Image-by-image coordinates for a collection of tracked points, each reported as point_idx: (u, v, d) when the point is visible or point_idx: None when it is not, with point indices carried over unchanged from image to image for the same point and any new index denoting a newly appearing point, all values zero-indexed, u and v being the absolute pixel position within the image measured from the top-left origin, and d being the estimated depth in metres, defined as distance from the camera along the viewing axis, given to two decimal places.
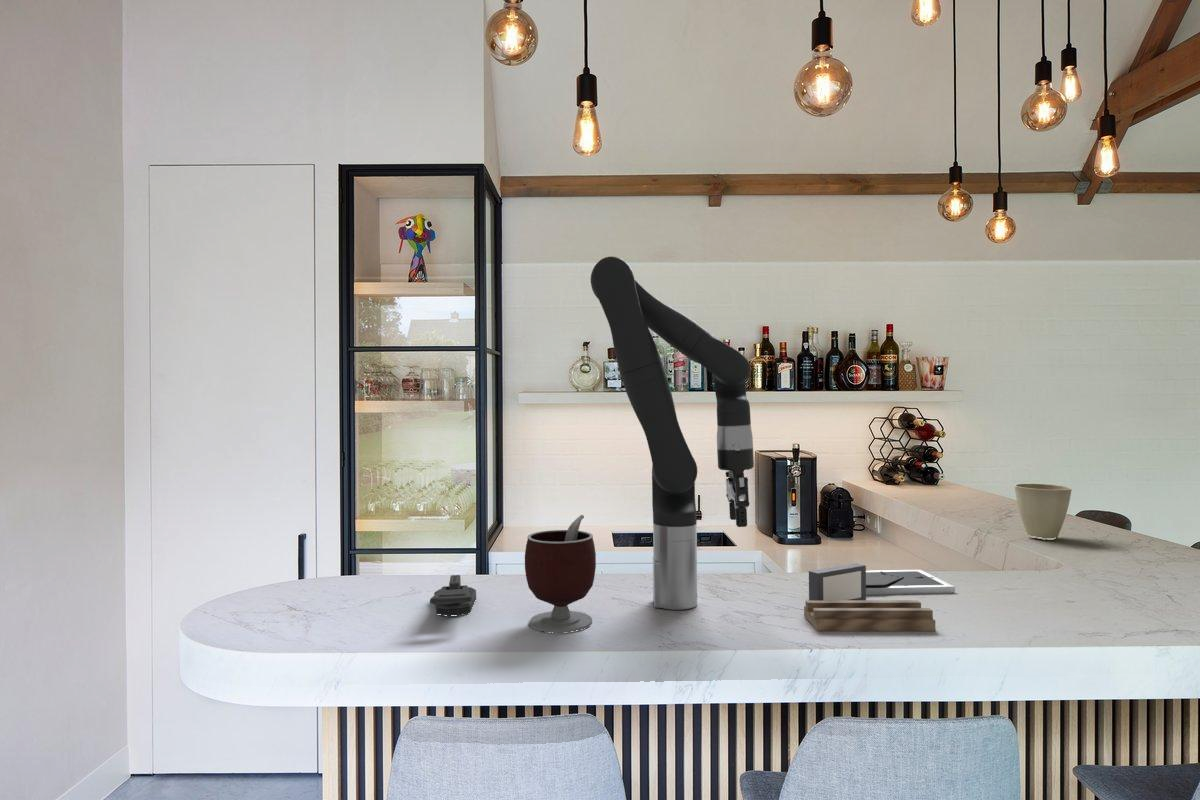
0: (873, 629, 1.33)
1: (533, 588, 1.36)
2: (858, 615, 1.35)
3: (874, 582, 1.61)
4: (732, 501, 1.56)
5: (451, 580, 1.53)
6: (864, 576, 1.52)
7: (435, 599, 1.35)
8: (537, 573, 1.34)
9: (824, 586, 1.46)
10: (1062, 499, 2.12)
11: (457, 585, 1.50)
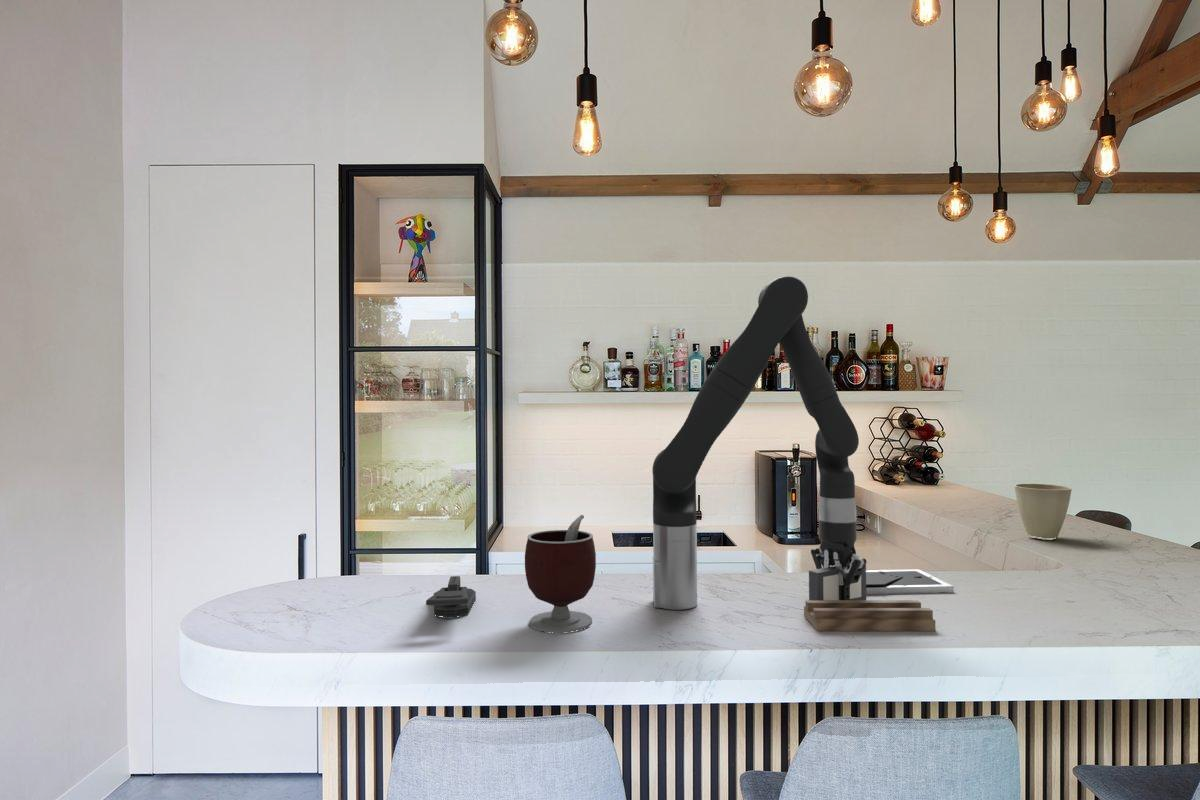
0: (873, 629, 1.33)
1: (533, 588, 1.36)
2: (858, 615, 1.35)
3: (873, 582, 1.61)
4: None
5: (450, 581, 1.52)
6: (864, 575, 1.52)
7: (431, 601, 1.34)
8: (537, 573, 1.34)
9: (824, 586, 1.46)
10: (1062, 499, 2.12)
11: (456, 586, 1.49)
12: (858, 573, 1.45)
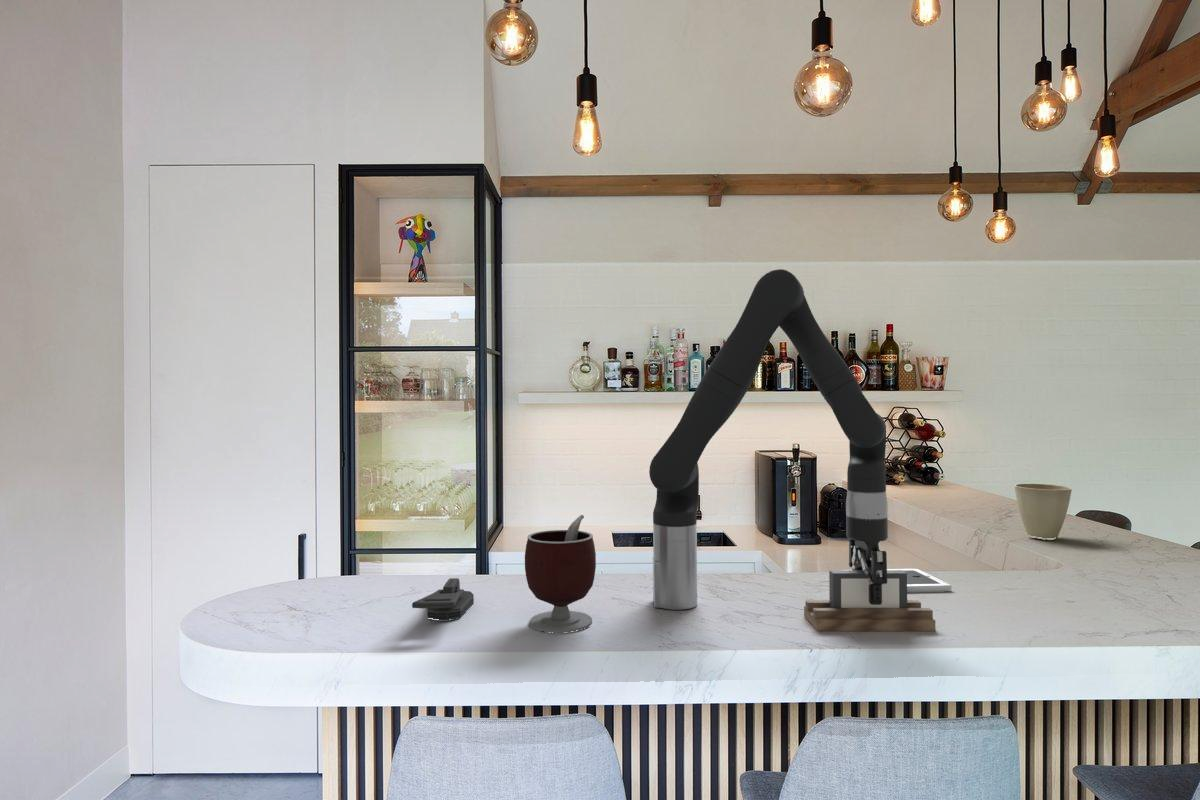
0: (873, 629, 1.33)
1: (533, 588, 1.36)
2: (858, 615, 1.35)
3: None
4: None
5: (446, 583, 1.50)
6: (904, 585, 1.36)
7: (417, 603, 1.32)
8: (537, 573, 1.34)
9: (843, 588, 1.37)
10: (1062, 499, 2.12)
11: (451, 589, 1.47)
12: (881, 568, 1.31)
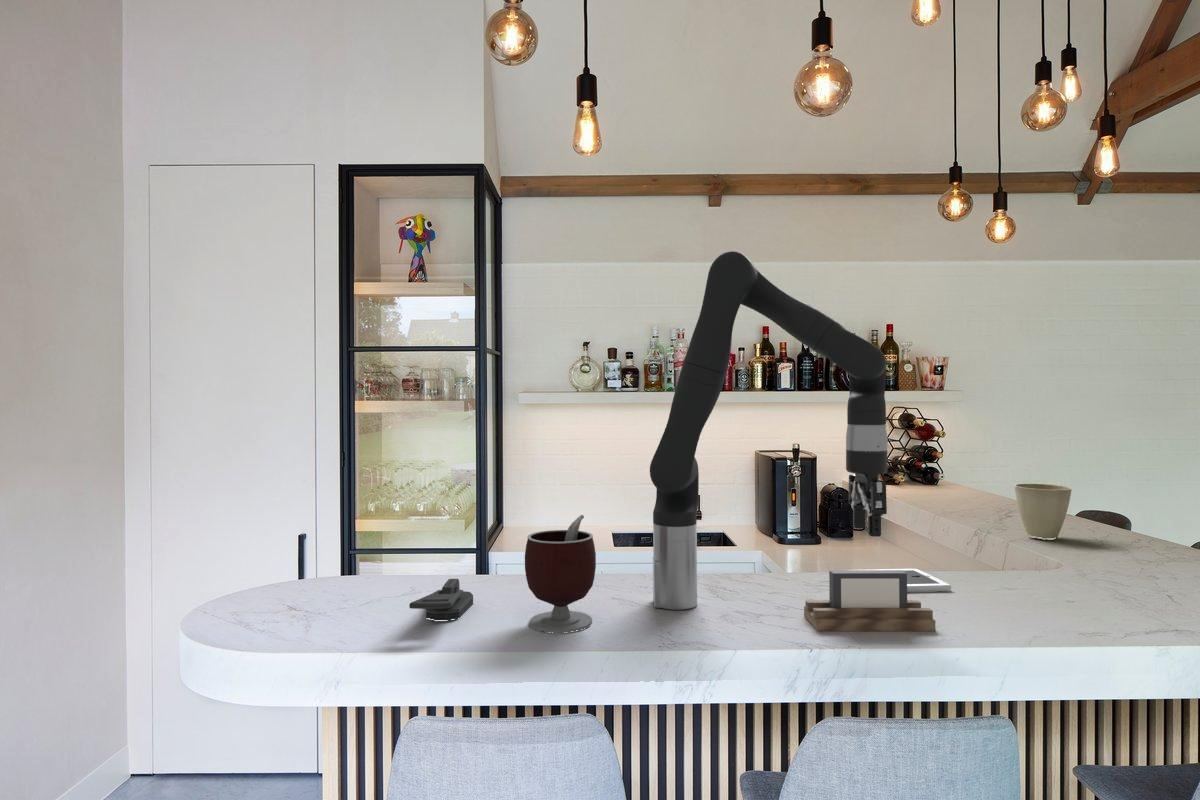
0: (873, 629, 1.33)
1: (533, 588, 1.36)
2: (858, 615, 1.35)
3: None
4: None
5: (445, 584, 1.50)
6: (904, 585, 1.36)
7: (414, 604, 1.32)
8: (537, 573, 1.34)
9: (843, 588, 1.37)
10: (1062, 499, 2.12)
11: (450, 589, 1.47)
12: (880, 498, 1.31)
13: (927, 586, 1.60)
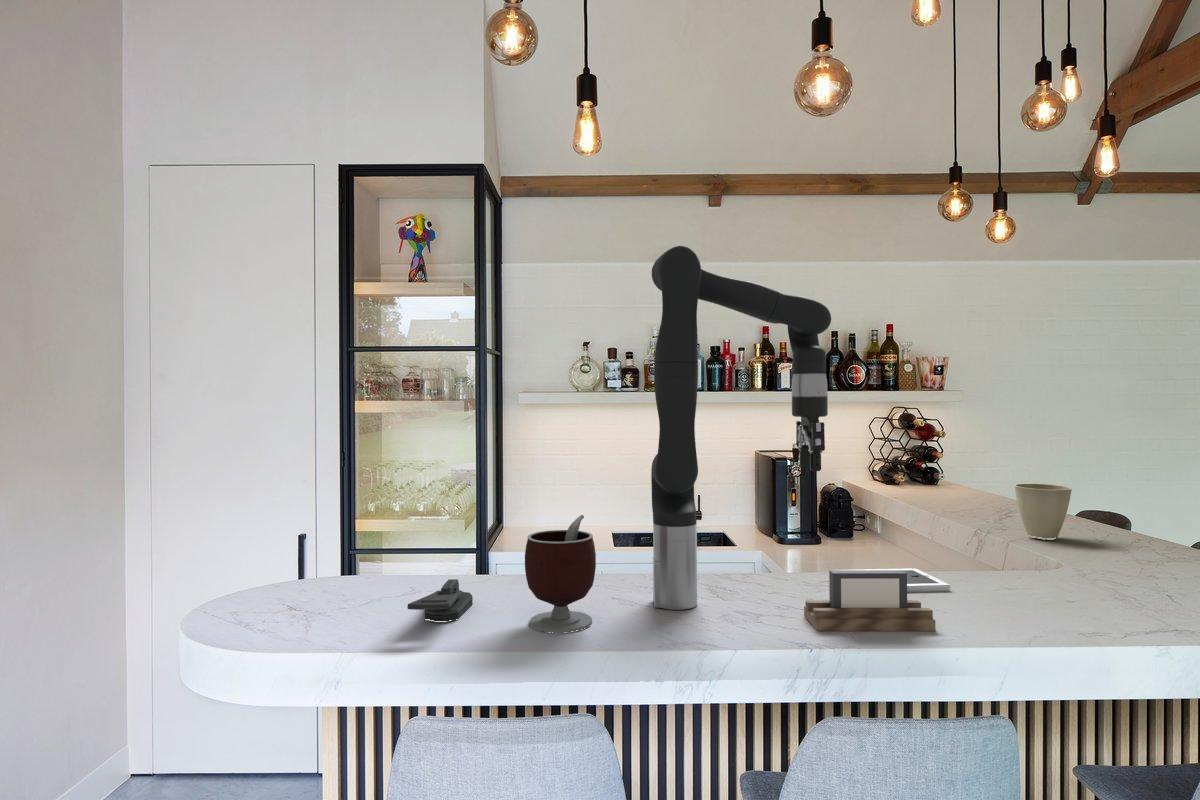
0: (873, 629, 1.33)
1: (533, 588, 1.36)
2: (858, 615, 1.35)
3: None
4: None
5: (445, 585, 1.49)
6: (904, 585, 1.36)
7: (412, 605, 1.31)
8: (537, 573, 1.34)
9: (843, 588, 1.37)
10: (1062, 499, 2.12)
11: (449, 590, 1.47)
12: (819, 437, 1.49)
13: (926, 586, 1.60)
